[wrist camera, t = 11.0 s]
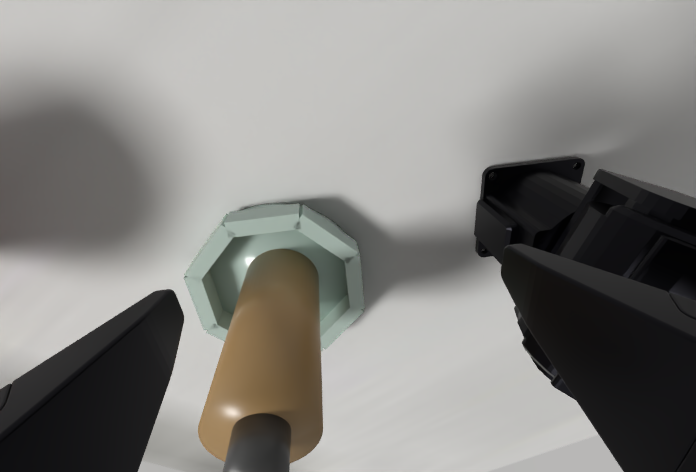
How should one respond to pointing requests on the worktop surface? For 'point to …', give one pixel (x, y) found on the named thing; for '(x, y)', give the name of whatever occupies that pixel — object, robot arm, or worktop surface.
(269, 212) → the dish
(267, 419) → the bottle
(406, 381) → the worktop surface
